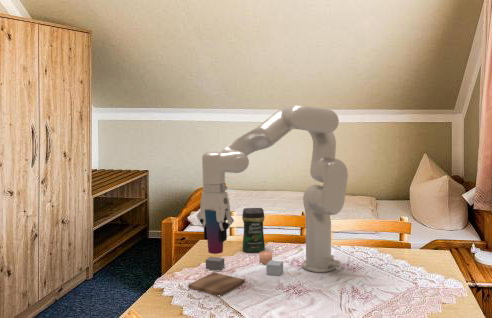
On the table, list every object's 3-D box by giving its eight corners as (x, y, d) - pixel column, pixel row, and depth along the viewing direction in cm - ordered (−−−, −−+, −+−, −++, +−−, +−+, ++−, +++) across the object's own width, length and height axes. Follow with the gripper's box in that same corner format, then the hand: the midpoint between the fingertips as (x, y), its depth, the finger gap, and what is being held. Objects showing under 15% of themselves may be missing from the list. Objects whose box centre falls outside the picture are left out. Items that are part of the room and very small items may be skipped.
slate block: (283, 271, 176) (283, 261, 176) (279, 276, 172) (279, 265, 171) (270, 270, 178) (270, 260, 178) (266, 275, 173) (266, 264, 173)
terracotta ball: (274, 261, 187) (274, 252, 187) (268, 265, 183) (268, 255, 182) (263, 259, 190) (263, 250, 189) (257, 263, 186) (257, 253, 185)
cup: (222, 255, 158) (221, 211, 157) (203, 254, 160) (202, 210, 158) (227, 249, 165) (226, 207, 163) (208, 248, 166) (207, 206, 165)
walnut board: (244, 282, 166) (244, 279, 165) (220, 296, 154) (220, 292, 154) (213, 275, 174) (213, 272, 173) (188, 287, 162) (188, 284, 162)
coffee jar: (243, 253, 199) (242, 210, 196) (242, 248, 206) (241, 206, 204) (266, 252, 199) (265, 209, 197) (264, 247, 207) (263, 205, 205)
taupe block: (224, 268, 181) (224, 258, 181) (220, 271, 178) (219, 261, 177) (210, 266, 184) (210, 256, 183) (205, 270, 180) (205, 259, 180)
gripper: (241, 188, 158) (242, 240, 160) (201, 184, 168) (202, 233, 170) (227, 192, 152) (229, 246, 154) (187, 187, 162) (189, 238, 164)
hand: (215, 239), depth 162 cm, fingers closed on cup, 6 cm apart
